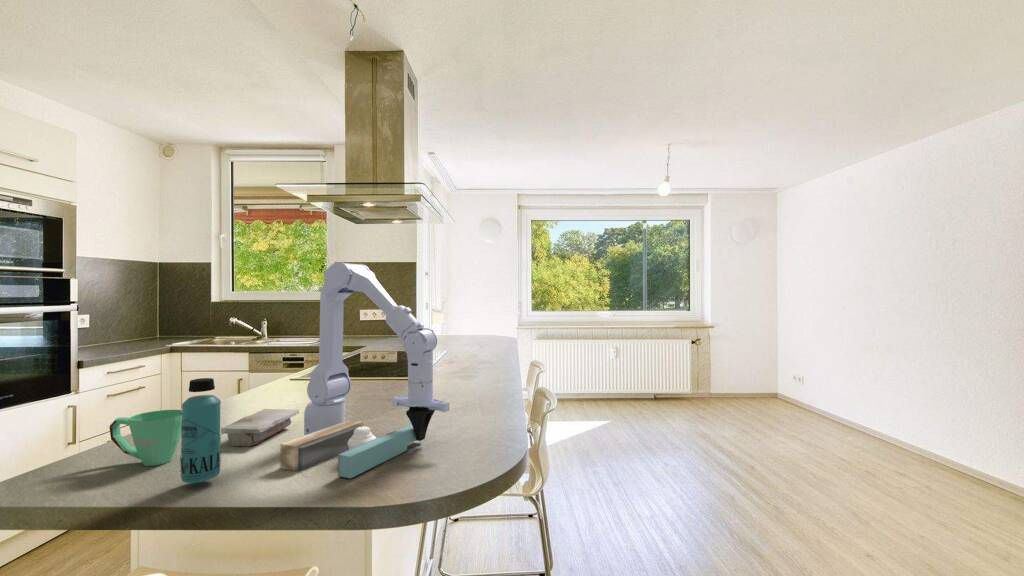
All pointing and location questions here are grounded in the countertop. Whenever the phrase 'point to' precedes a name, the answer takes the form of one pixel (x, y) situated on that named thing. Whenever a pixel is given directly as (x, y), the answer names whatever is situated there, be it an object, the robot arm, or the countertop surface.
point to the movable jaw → (374, 452)
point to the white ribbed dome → (360, 437)
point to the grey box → (258, 426)
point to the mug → (150, 435)
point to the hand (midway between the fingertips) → (420, 439)
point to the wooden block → (317, 446)
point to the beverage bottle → (200, 434)
